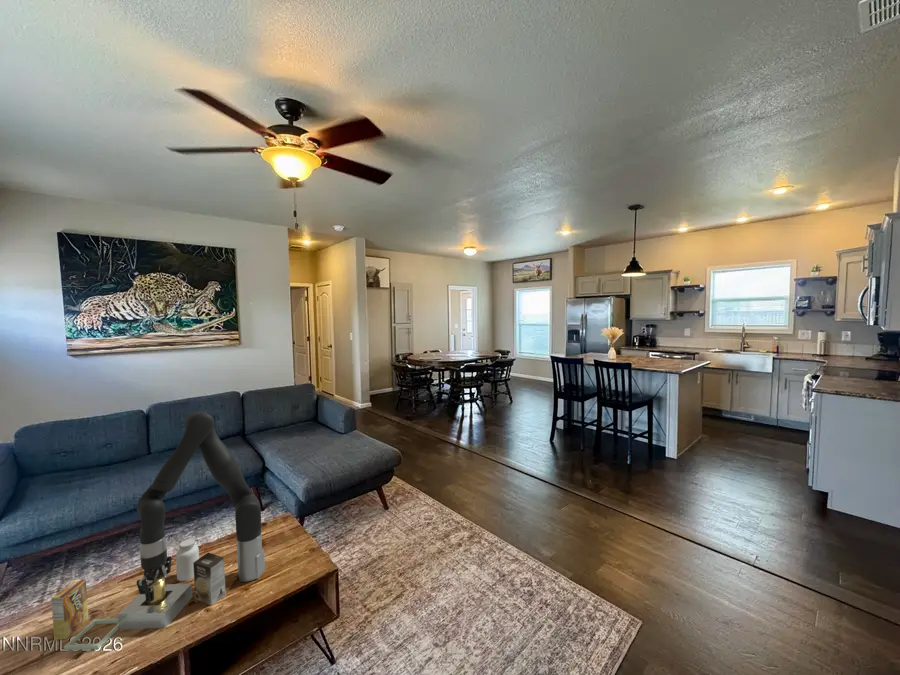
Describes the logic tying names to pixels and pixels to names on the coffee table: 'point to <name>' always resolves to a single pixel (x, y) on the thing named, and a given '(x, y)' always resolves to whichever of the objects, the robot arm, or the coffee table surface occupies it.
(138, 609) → the housing
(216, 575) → the coffee box
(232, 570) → the coffee table surface
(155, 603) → the gold shiny round cylinder
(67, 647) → the tray
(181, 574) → the pill bottle
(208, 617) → the coffee table surface
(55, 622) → the candy box
